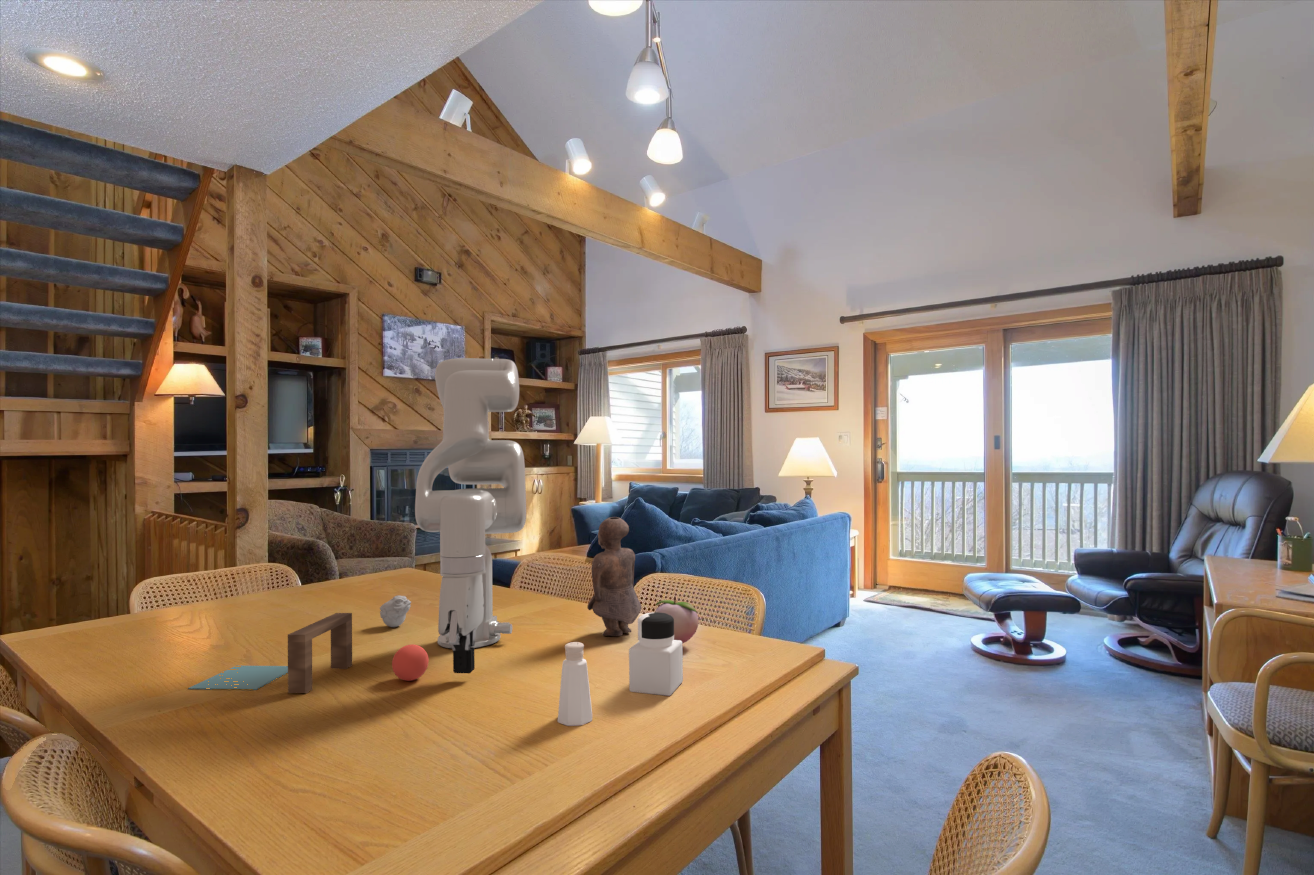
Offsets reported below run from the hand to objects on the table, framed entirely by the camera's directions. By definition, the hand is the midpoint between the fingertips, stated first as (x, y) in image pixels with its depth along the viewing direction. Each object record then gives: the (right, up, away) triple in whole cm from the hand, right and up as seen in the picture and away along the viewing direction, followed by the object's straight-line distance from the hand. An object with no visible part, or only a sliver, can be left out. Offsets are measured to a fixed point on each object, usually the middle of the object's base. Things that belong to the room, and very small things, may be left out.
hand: (463, 671), depth 119 cm
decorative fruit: (+37, -2, +18) cm, 41 cm away
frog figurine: (-26, -3, +37) cm, 45 cm away
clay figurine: (+25, -2, +28) cm, 38 cm away
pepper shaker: (+21, -1, -18) cm, 28 cm away
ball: (-10, +1, +1) cm, 10 cm away
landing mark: (-39, -2, +3) cm, 40 cm away
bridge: (-25, -2, +2) cm, 26 cm away
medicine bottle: (+33, -1, -4) cm, 34 cm away
